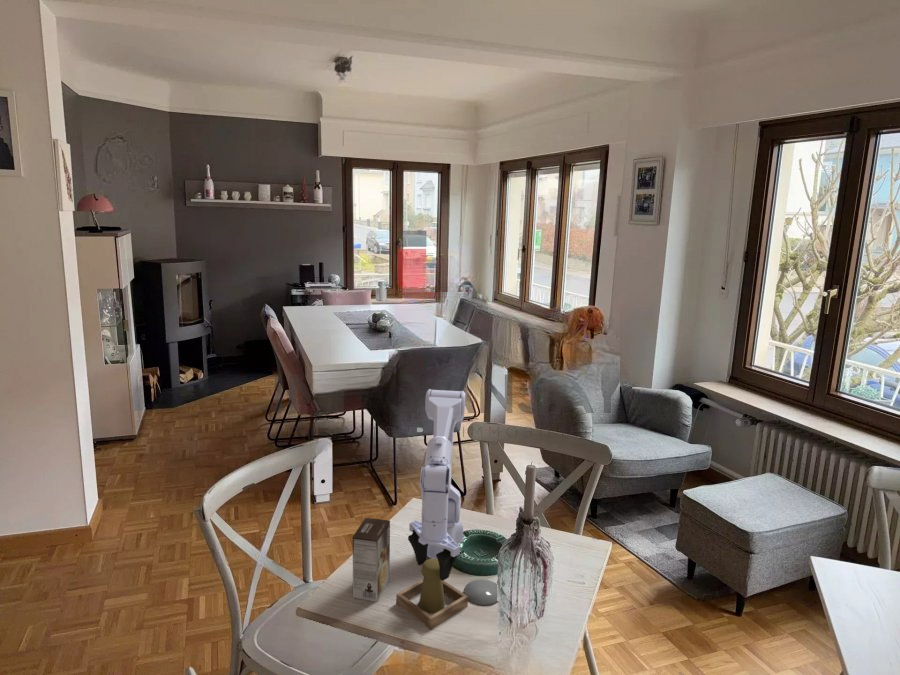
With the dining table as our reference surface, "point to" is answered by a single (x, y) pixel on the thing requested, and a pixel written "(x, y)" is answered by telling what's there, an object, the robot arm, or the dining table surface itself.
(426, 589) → the olive waisted cylinder
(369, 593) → the coffee box
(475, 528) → the dining table surface
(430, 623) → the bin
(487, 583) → the grey pebble
